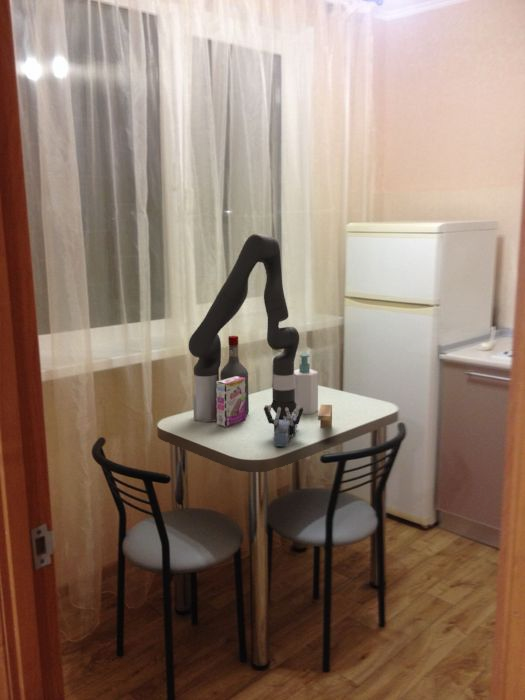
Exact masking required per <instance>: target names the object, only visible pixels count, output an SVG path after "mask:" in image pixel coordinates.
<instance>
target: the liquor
mask: <svg viewBox="0 0 525 700" xmlns="http://www.w3.org/2000/svg"><path fill="white" fill-rule="evenodd" d="M235 376H238V377H243V378H246V379H245V382H246V383H245V384H246V385H245V386H246V387H245V388H246V396H245V398H246V415H248V413H249V411H250V410H249V409H250V406H249V372H248V369H247V368H246V367H245V366H244V365H243V364H242V363H241V362H240V358H239V336H238V335H229V336H228V362H226V364H225V365H224V366H223V367H222V369H220V372H219V381H220V380H224V379H228V378H231V377H235Z"/></svg>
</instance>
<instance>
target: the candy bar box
mask: <svg viewBox="0 0 525 700" xmlns="http://www.w3.org/2000/svg"><path fill="white" fill-rule="evenodd" d="M245 379H246V378H243V377H238V376H235V377H231V378H228V379H224V380H220V379H219V381H217V382H216V402H217V403H216V408H217V420H216V425H217V426H219V427H222V428H228V427H230V426H233V425H236V424H239V423H241V422H244V421H246V420H247V418H246V415H247V414H246V398H245V396H246V388H245V387H246V386H245V385H246V384H245V383H246V382H245Z"/></svg>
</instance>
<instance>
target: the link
mask: <svg viewBox="0 0 525 700" xmlns="http://www.w3.org/2000/svg"><path fill="white" fill-rule="evenodd" d="M292 415H293V419H294V420H296V418H297V416H298V414H292ZM297 429H298V424H296V425H294V434H295V435H296V432H297ZM294 434H293V435H294ZM290 437H291V436H290V423H289V420H283V416H280V417H279V420H278V425H277V427H276V429H275V432H274V431H273V444H274V447H287V446H288V443H289V440H290Z"/></svg>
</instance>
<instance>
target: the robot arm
mask: <svg viewBox="0 0 525 700" xmlns="http://www.w3.org/2000/svg"><path fill="white" fill-rule="evenodd" d="M241 248H242V249H241V250H240V253H239V254H238V256H237V259H236V261H235V264H234V265H233V267H232V269H231V271H230V272H229V274H228V277H227V278H226V279H225V282H224V284H223V285H222V287H220V290H219V291H218V293H217V295H216V297H215V298H214V299H213V303H212V304H211V306H210V307H209V309H208V311H207V313H206V315H205V316H204V318H203V319H202V321H201V322H200V324H199V325H198V327H197V328H196V329H195V331H194V332H193V333H192V334H191V336H190V337H189V341H188V351H189V353H190V354H191V355H192V356H193V357H195V358H198V360H197V362H196V364H195V365H193V387H194V388H193V389H194V393H193V395H192V400H193V401H192V402H193V403H192V404H193V407H192V408H193V421H198V422H203V423H205V422H208V423H209V422H210V423H211V422H215V421H216V422H217V408H216V403H217V402H216V382H217V381H220V367H221V364H222V363H221V361H222V343H221V338H220V335H219V332H220V331H221V330H222V329H223V328H224V327H225V326H226V325H228V323H229V322H230V321H231V320H232V319H233V318H234V317H235V316H236V314H237V313H238V312H239V311H240V309H241V308H242V306H243V304H244V302H245V301H246V300H247V297H248V293H249V291H248V290H249V278H250V275H251V273H252V271H253V270H254V268H255V267H256V265H257V264H258V263H262V264H263V266H264V269H265V274H266V281H265V287H264V290H263V302H264V306H265V312H266V316H267V331H266V341H267V344H268V346H269V347H270V349H272V350H275V351H276V350H278V351H279V350H282V352H281V353H280V354H278V355H276V356H274V357H273V358H272V359H273V360H272V379H271V380H272V381H271V382H272V383H271V387H272V390H271V391H272V402H271V404H269V405H268V404H266V405H264V407H263V412H264V413H265V416H266V419H267V422H268V424H272V425H273V429H274V430H273V433H274V432H275V429H276V427H277V425H278V420H279V417H280V416H287V417H288V420H289V423H290V437H292V436H294V425H296V424H297V425H299V424H300V420H301V418H302V415H303V414H302V412H303V410H304V407H303V406H301V407H300V406H297V405H296V403H295V377H294V371H295V359H296V354H297V351H298V348H299V344H300V334H299V332H298V330H297V328H295V327H294V326H285V327H284V326H282V327H279V326H280V323H282V322H283V321H286V320H287V319H288V318H289V310H288V306H287V302H286V301H287V300H286V297H285V292H284V286H283V285H284V284H283V276H282V263H281V248H280V244H279V241H278V240H277V239H276V238H275V237H273V236H271V235H266V234H262V233H254V234H253V233H252V234H251V235H249V237H247V239H246V240H245V242H244V244H243V245H242V247H241ZM295 408H296V409H297V413H298V414H297V413H296V414H297V418H296V420H294V419H293V415H294V414H293V412H294V410H295ZM272 410H273V411H274V413H275V416H274V418H273V416H272V413H271V412H272Z"/></svg>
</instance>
